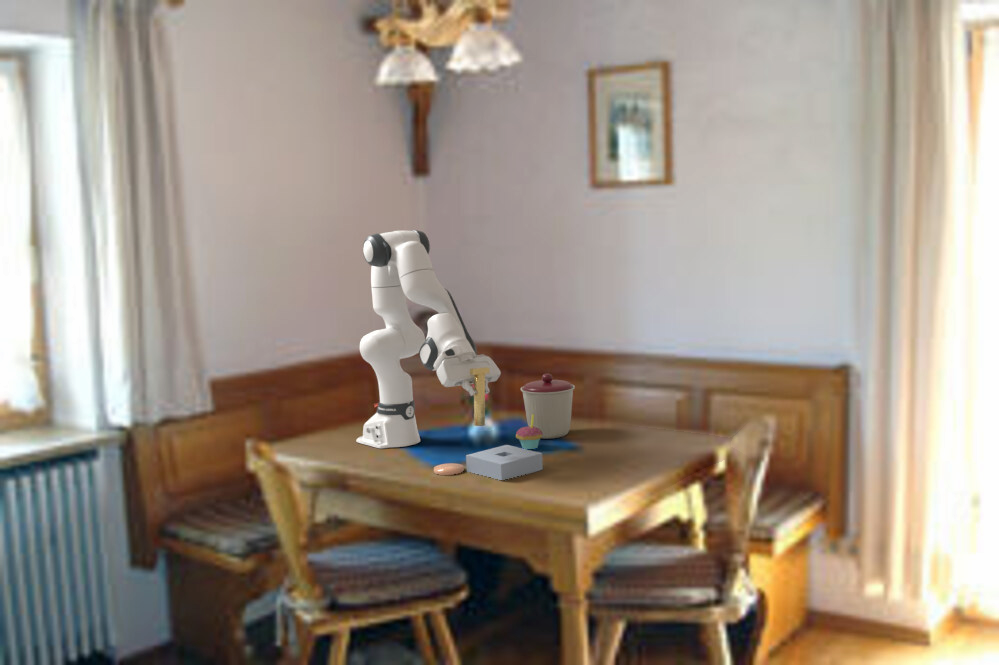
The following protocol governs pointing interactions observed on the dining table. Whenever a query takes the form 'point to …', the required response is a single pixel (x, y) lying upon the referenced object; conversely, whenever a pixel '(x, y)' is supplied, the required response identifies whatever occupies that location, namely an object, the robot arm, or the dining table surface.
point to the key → (479, 395)
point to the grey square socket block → (504, 462)
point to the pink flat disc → (448, 469)
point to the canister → (549, 405)
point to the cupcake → (529, 436)
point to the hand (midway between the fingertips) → (480, 393)
